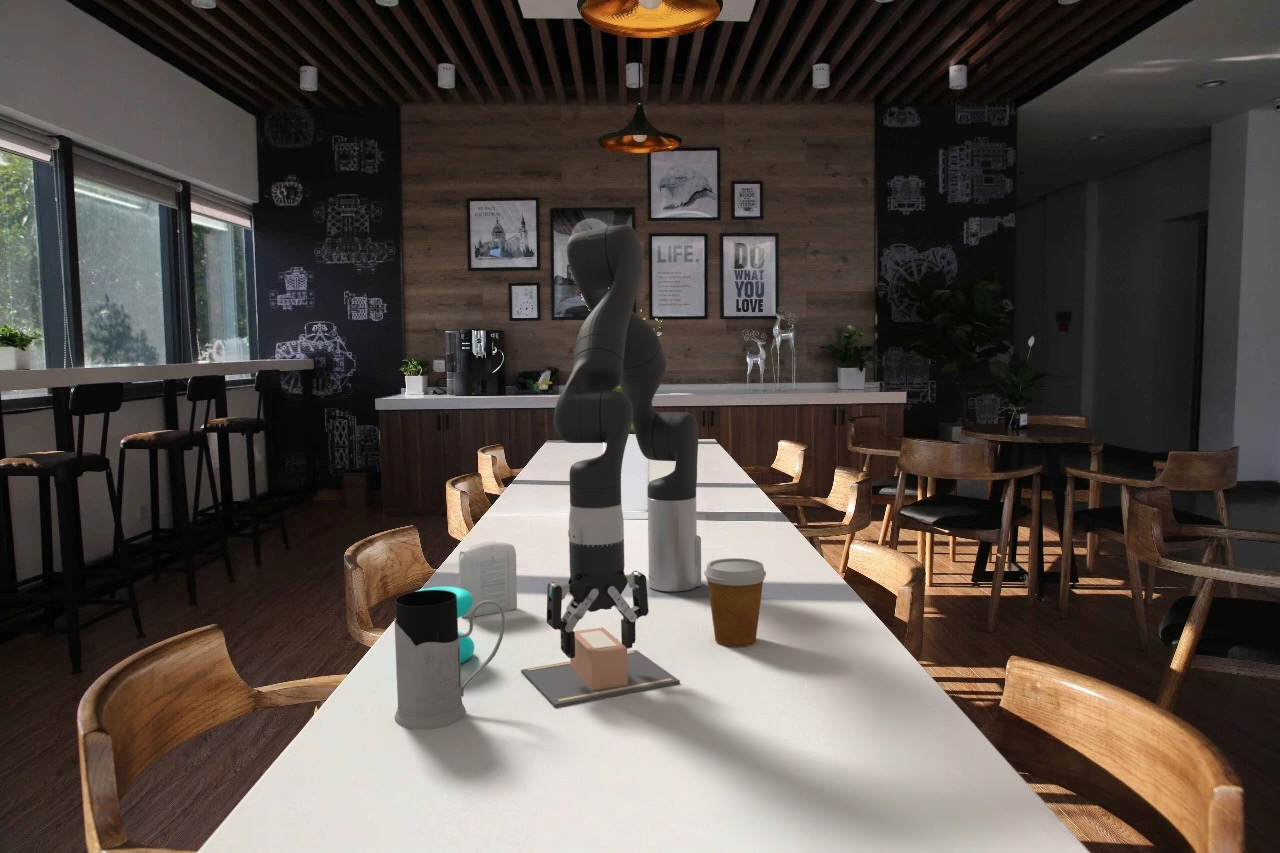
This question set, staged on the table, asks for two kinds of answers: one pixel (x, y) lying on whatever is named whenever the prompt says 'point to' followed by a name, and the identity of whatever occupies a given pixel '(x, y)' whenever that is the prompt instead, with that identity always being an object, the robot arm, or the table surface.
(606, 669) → the card box
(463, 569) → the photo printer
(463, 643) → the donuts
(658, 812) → the table surface
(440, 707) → the glass holder
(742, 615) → the disposable coffee cup
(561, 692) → the mat
